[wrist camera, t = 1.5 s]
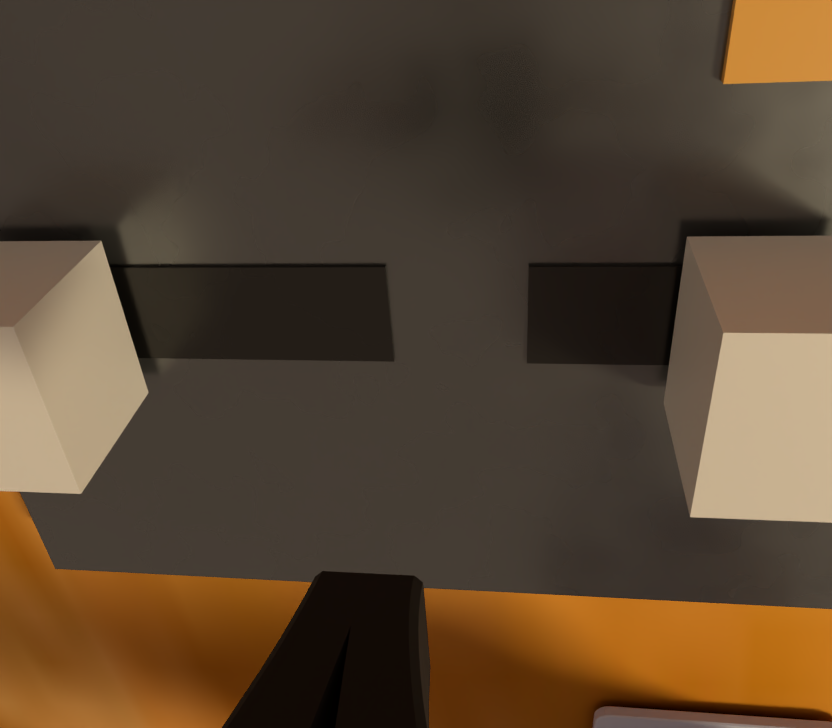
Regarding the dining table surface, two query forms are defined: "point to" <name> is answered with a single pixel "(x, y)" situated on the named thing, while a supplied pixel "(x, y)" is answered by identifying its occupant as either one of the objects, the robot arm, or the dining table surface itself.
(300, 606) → the robot arm
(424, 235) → the breaker panel
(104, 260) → the block
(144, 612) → the dining table surface
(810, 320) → the block
